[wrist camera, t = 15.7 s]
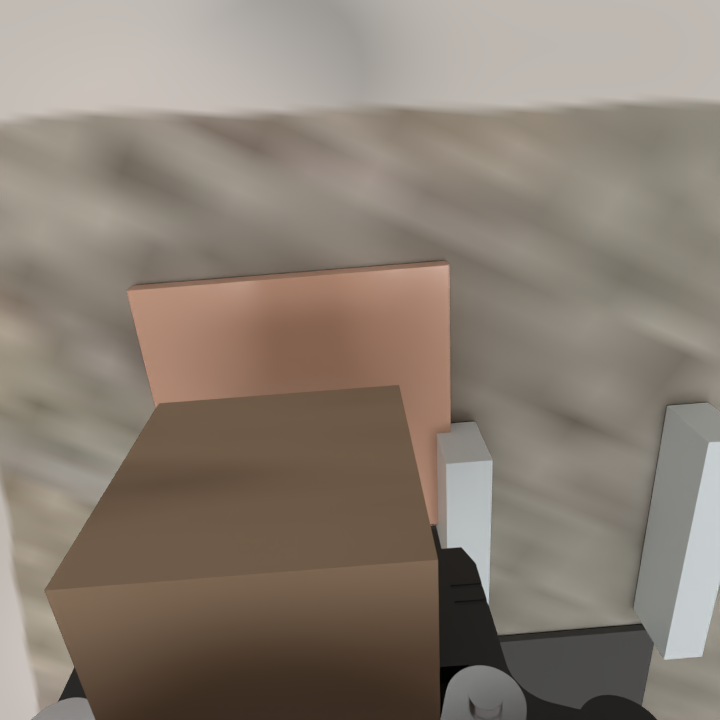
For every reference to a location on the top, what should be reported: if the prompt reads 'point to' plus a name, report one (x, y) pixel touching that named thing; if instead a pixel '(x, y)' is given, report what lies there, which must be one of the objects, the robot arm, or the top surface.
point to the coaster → (307, 341)
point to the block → (259, 566)
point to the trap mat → (581, 663)
